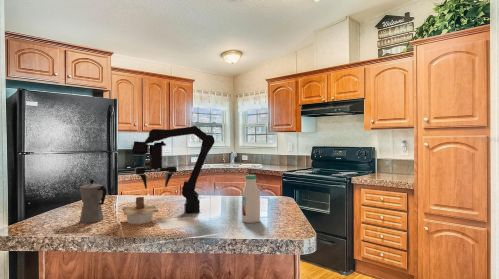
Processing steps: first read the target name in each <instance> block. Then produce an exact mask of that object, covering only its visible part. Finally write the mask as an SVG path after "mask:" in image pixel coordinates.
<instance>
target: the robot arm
mask: <svg viewBox="0 0 499 279" xmlns="http://www.w3.org/2000/svg"><path fill="white" fill-rule="evenodd" d="M189 135H194V136H196V137H197V138H199V140H201V142H202V143H201V146H200V147H201V148H200V151H199V154H198V157H197V159H196V161H195V164H194V166H193V169H192V171H191V173H190V177H189V179H188V180H187V179H185V180H184V181H183V186H182V187H181V188H180V189H181V195H182V197H183V198H185V202H184V204H183V205H184V206H183V207H184V208H183V210H184V214H185V213H186V214H187V215H190V214H200V213H201V211H200V210H201V209H200V204H201V203H200V202H201V201H200V199H199V197H200V194H199V193H198V192H197V191H196V185H197V182H198V178H199V175H200V173H201V170H202V168H203V166H204V163H205V161H206V158H207V156H208V154H209V152H210V151H211V149H212V148H213V145H214V144H215V137H214V136H213V135H211V134H207V133H206V132H204V131H203V130H201V129H200V128H199V127H198V126H196V125H192V126H186V127H180V128H179V127H178V128H171V129H161V128H152V129H151V130H149V132H148V137H147V138H146V139H145V140H144V141H139V140H137V141H133V146H132V148H131V149H132V156H133V157H134V156H136V157H137V156H147V154H149V159H147V160H146V159H145V160H143V161H144V163H143V164H144V166H142V167H141V166H139V167H138V166H136V167H135V168H134V174H135V175H137V176H138V177H140V178H141V179H142V183H143V186H144V189H146V190H147V177H146V176H147V174H146V173H160V172H163V173H164V172H165V181H164V188H167V186H168V185H169V181H170V179H171V177H172V176H173V175H174V174H175V173H178V171H177V170H178V169H177V167H176V166H175V165H166V166H165V167H163V146H165V147H166V146H167V143H165V142H164V140H166V139H168V138H169V139H170V138H175V137H183V136H189Z"/></svg>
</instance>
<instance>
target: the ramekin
mask: <svg viewBox="0 0 499 279" xmlns="http://www.w3.org/2000/svg"><path fill="white" fill-rule="evenodd" d="M153 214H154V213H144V214H133V215H126V220H127V223H128V224H130V225H143V224H148V223H151V222H152V220H153Z"/></svg>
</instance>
